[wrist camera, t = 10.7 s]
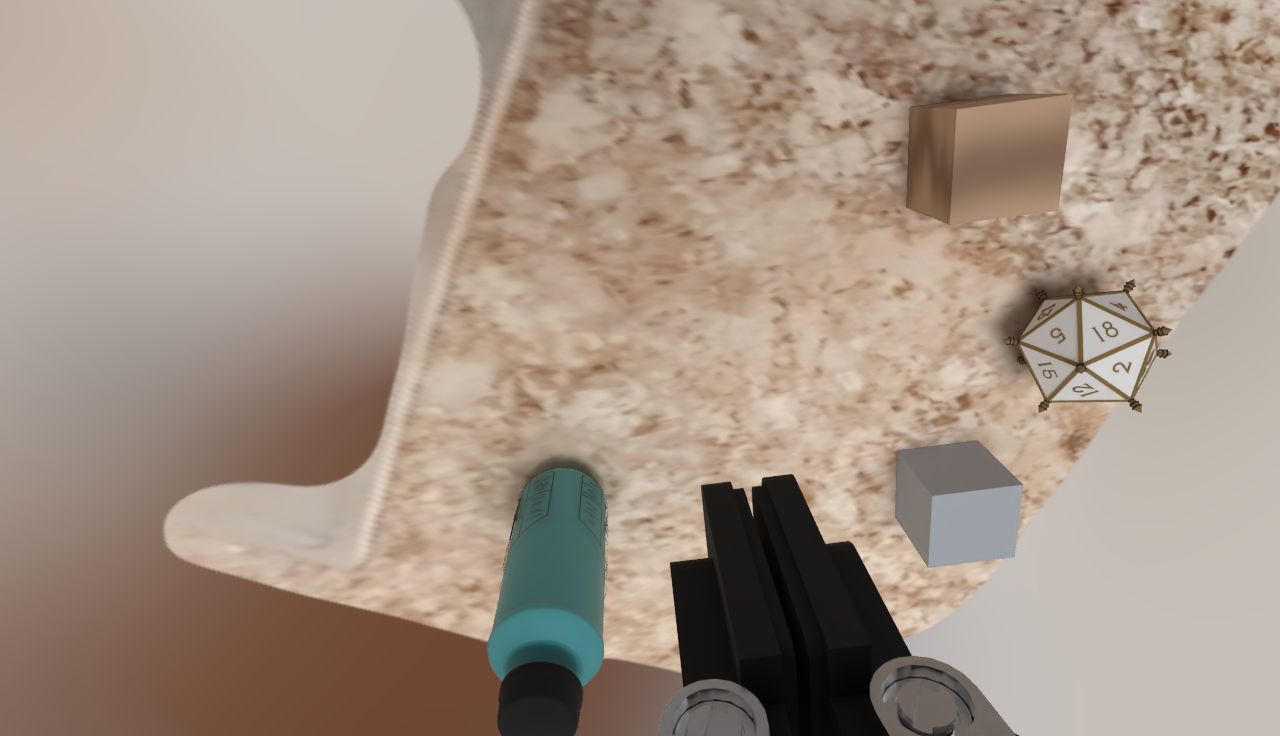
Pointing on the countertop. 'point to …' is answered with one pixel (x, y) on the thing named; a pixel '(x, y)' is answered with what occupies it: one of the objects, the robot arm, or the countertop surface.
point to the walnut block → (987, 156)
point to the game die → (1089, 347)
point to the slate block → (957, 503)
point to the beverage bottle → (550, 605)
